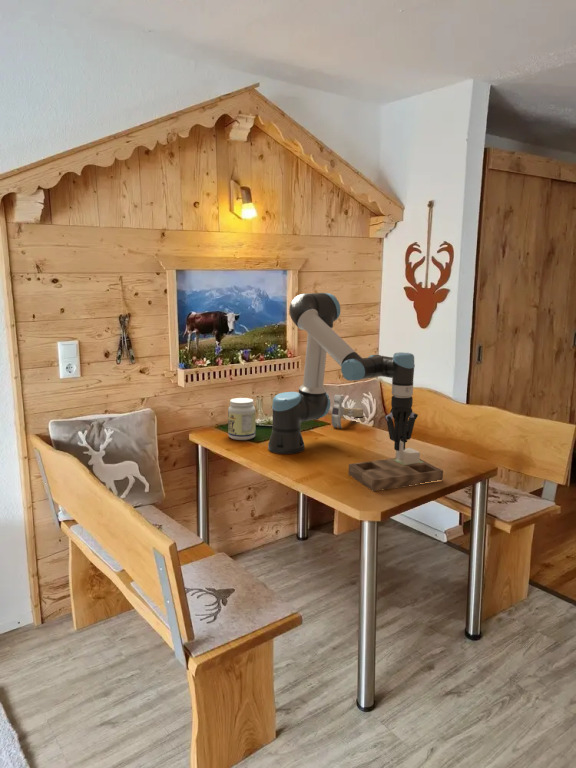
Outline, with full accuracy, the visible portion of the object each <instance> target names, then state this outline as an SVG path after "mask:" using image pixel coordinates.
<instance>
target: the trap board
mask: <svg viewBox="0 0 576 768" xmlns="http://www.w3.org/2000/svg"><path fill="white" fill-rule="evenodd" d="M396 459H397V458H396V457H395V458H386V459H380V460H379V459H378V460H370V461H362V462H356V463H355V462H354V463H348V475H349V477H351V476H352V477H351V478H353V479H354V480H356V481H357V482H359V483H360V484H362V485H363V486H364V487H366V488H367V487H368V489H369V488H370V489H371V491H372V490H373V491H374V492H377V491H376V490H381V491H383V490H382V489H388V488H394V489H397V488H396V487H401V488H404V487H403V486H408V487H410V486H409V485H415V484H420V483H425V482H431V481H437V480H442V479H443V477H444V470H443V469H441V468H439V467H437V466H435V465H433V464H431V463H429V462H427V461H425V460H423V459H421V458H420V459H419V463H413V464H406V465H405V464H403V463H402V462H400V461H398V460H396ZM415 486H416V485H415ZM370 489H369V490H370ZM388 490H389V489H388ZM373 491H372V492H373Z"/></svg>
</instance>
